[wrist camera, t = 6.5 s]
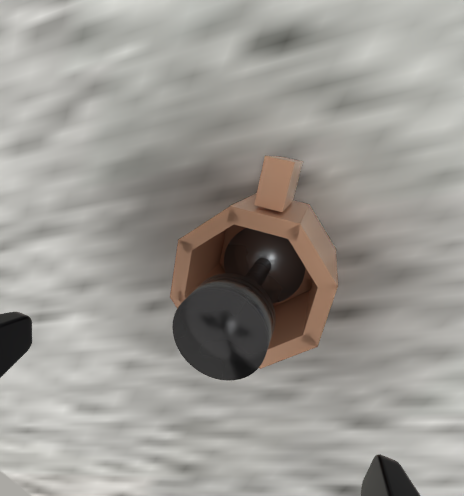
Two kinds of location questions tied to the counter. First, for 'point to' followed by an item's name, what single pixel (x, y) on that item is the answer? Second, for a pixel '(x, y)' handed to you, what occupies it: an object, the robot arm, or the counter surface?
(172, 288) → the octagonal copper jug
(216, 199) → the counter surface
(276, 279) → the plunger
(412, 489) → the robot arm
